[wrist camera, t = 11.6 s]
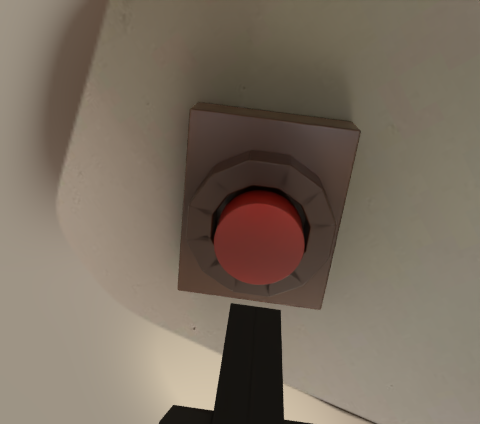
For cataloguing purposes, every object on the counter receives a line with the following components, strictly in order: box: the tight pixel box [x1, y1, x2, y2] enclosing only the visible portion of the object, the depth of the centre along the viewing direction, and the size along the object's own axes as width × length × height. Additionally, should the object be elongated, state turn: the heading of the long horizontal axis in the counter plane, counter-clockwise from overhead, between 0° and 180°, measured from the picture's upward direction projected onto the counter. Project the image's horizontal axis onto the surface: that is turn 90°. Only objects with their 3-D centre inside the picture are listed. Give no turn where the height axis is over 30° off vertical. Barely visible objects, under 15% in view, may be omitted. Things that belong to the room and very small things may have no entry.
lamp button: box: [214, 190, 305, 285], centre depth 20 cm, size 4×4×2 cm
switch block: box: [178, 102, 361, 310], centre depth 22 cm, size 10×8×4 cm
